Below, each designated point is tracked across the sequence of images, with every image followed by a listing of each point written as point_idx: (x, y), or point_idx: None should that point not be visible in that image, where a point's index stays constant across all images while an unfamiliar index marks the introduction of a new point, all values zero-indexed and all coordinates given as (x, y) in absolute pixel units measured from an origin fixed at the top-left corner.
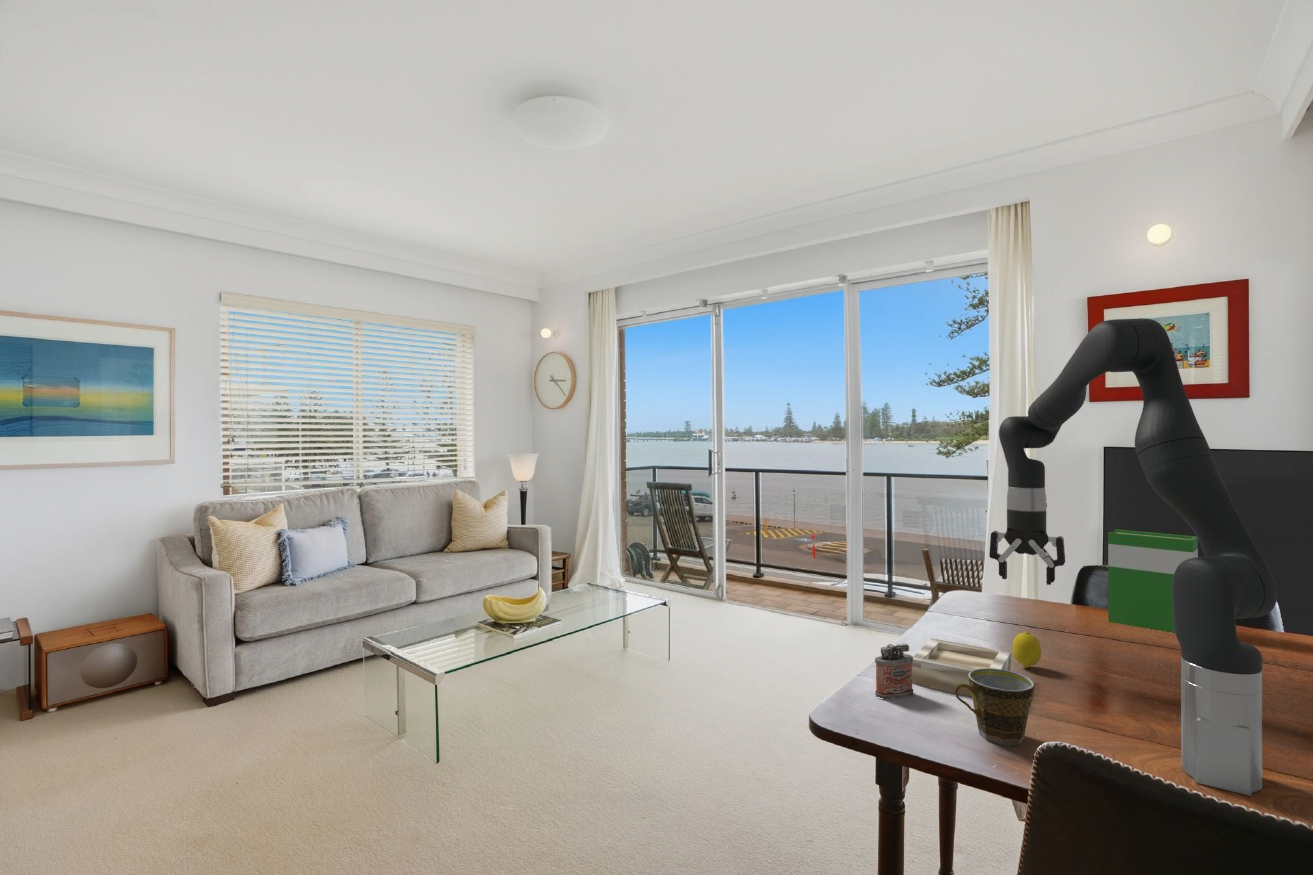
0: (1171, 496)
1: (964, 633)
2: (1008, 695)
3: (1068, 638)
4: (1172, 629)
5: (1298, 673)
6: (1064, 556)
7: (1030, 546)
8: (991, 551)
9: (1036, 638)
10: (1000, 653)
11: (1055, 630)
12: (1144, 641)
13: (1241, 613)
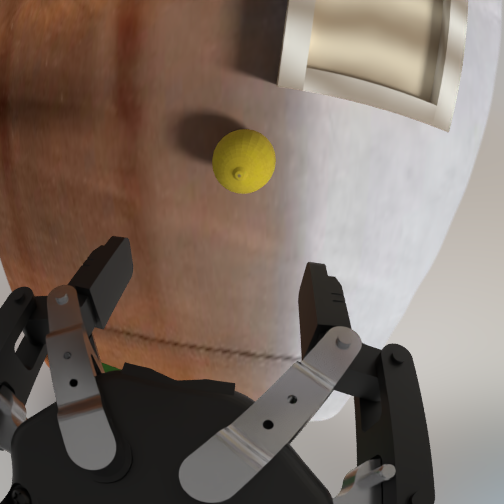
0: None
1: (352, 296)
2: None
3: (195, 327)
4: (107, 368)
5: (11, 287)
6: (18, 350)
7: (125, 423)
8: (408, 383)
9: (217, 171)
10: (301, 65)
11: (215, 350)
12: (119, 338)
13: None
